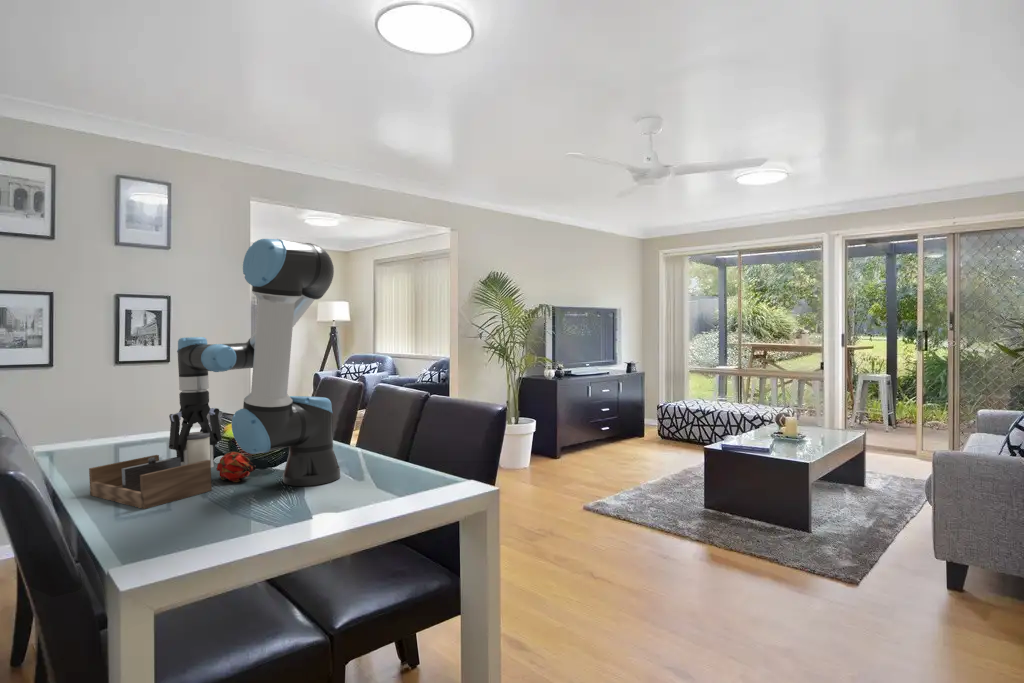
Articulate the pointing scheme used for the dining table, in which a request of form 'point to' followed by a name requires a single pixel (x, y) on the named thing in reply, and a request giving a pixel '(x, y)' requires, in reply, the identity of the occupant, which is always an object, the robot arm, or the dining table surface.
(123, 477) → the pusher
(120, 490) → the wooden box
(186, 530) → the dining table surface
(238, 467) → the dragon fruit
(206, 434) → the jar
